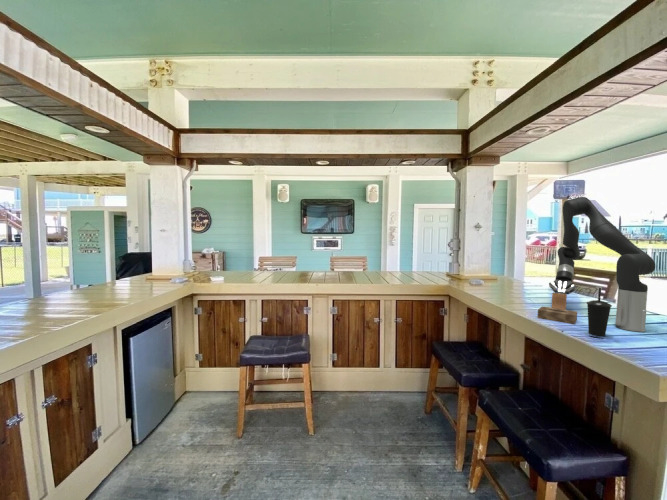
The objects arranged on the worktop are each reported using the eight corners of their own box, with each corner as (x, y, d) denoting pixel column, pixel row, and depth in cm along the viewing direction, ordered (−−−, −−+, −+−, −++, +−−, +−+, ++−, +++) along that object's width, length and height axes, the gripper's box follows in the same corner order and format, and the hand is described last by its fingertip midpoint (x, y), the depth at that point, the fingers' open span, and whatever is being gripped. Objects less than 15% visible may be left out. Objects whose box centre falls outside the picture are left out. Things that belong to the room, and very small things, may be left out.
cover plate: (565, 312, 160) (566, 294, 160) (565, 313, 159) (566, 294, 159) (551, 310, 164) (552, 292, 164) (551, 311, 163) (552, 292, 163)
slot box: (576, 322, 143) (577, 311, 143) (574, 326, 136) (575, 315, 136) (541, 316, 153) (541, 306, 153) (537, 320, 146) (537, 309, 145)
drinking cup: (587, 338, 121) (591, 288, 120) (581, 332, 128) (585, 285, 127) (612, 341, 118) (616, 290, 116) (605, 335, 124) (608, 287, 123)
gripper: (550, 268, 174) (544, 292, 166) (579, 271, 165) (575, 296, 157) (551, 277, 178) (546, 300, 170) (579, 279, 169) (576, 305, 161)
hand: (560, 298), depth 164 cm, fingers closed
